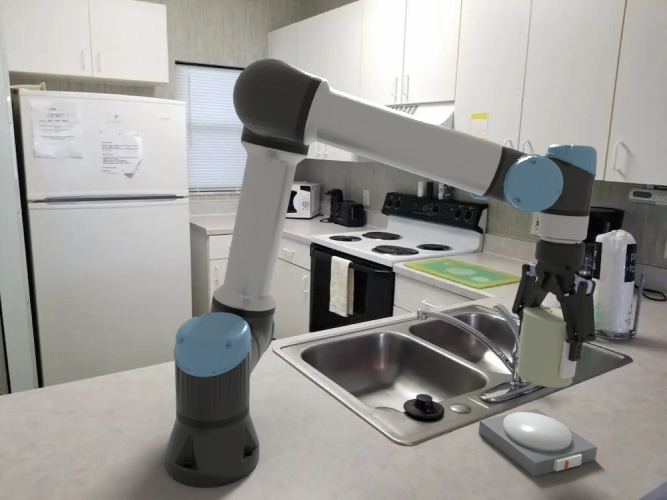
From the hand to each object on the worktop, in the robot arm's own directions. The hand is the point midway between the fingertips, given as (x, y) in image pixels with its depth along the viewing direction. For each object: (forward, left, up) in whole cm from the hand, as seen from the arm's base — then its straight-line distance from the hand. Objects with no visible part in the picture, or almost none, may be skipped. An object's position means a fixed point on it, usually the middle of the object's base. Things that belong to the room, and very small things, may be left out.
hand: (544, 365), depth 90 cm
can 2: (0, 0, -2) cm, 2 cm away
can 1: (+72, +67, -16) cm, 100 cm away
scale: (0, 0, -16) cm, 16 cm away
